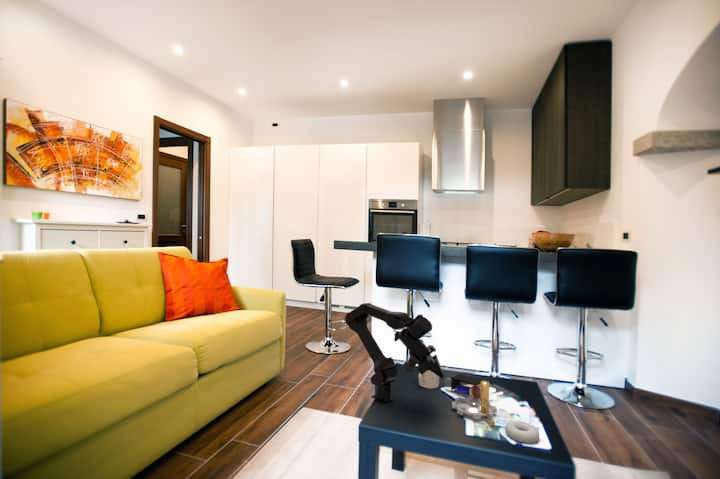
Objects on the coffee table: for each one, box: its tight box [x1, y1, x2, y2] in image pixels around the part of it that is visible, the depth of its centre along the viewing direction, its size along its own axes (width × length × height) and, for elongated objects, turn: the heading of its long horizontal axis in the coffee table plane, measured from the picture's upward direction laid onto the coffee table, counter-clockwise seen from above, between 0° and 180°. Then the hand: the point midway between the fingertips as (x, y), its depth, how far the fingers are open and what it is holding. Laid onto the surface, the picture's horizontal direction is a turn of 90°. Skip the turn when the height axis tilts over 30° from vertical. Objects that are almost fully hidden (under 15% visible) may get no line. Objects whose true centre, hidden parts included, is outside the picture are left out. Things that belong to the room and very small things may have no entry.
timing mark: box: [484, 418, 496, 426], centre depth 124 cm, size 2×2×1 cm
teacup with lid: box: [418, 370, 440, 390], centre depth 156 cm, size 12×9×12 cm
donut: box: [504, 420, 540, 444], centre depth 117 cm, size 10×4×10 cm
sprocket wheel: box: [451, 380, 498, 420], centre depth 132 cm, size 15×15×12 cm
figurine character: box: [443, 373, 485, 400], centre depth 149 cm, size 7×8×15 cm
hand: (443, 377), depth 130 cm, fingers closed
